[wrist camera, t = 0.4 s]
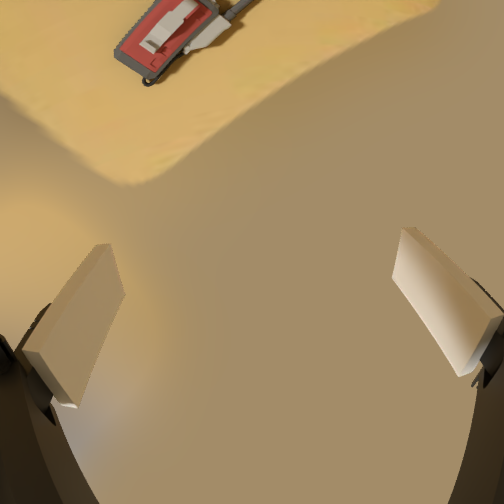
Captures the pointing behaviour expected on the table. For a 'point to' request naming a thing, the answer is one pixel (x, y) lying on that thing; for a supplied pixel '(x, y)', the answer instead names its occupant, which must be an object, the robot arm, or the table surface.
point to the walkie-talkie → (172, 34)
